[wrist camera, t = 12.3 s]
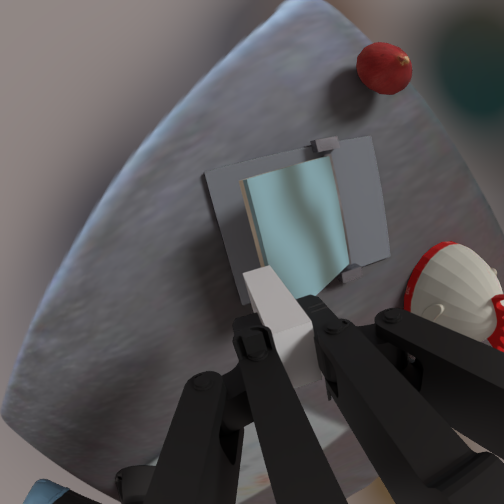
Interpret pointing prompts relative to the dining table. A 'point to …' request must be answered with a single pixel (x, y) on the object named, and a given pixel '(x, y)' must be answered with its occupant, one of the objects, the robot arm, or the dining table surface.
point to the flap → (299, 224)
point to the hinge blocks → (354, 269)
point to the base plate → (351, 193)
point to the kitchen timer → (458, 293)
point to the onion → (384, 68)
